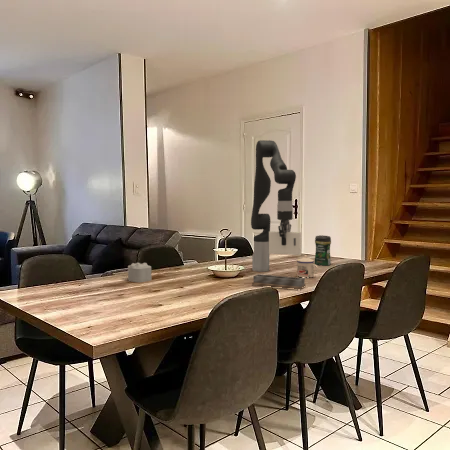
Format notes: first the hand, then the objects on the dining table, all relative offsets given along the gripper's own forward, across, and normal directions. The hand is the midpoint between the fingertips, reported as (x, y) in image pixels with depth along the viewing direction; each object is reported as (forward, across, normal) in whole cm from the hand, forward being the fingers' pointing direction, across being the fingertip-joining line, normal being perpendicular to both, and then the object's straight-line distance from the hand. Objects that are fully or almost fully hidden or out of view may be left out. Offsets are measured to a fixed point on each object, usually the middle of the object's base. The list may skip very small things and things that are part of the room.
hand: (284, 244), depth 223 cm
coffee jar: (+19, -65, +3) cm, 68 cm away
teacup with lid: (+20, -22, +6) cm, 30 cm away
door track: (+20, +7, -1) cm, 21 cm away
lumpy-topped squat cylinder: (+20, +22, -73) cm, 79 cm away
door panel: (+5, 0, 0) cm, 5 cm away
